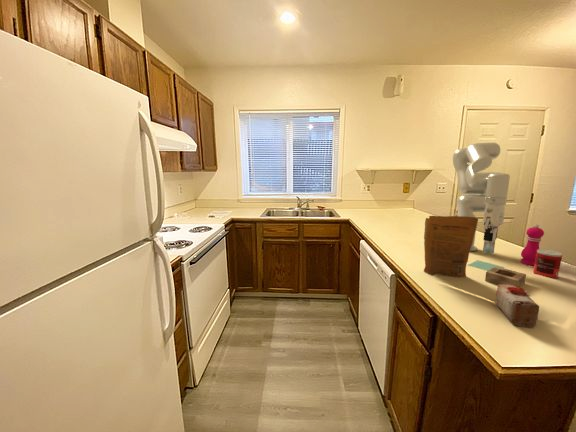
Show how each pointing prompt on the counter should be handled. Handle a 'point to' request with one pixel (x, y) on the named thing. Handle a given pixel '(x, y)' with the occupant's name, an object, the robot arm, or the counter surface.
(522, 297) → the food item
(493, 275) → the socket block
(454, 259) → the pancake mix bag
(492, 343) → the counter surface
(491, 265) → the mat
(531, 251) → the pepper mill
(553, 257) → the canned food
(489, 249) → the steel pin
